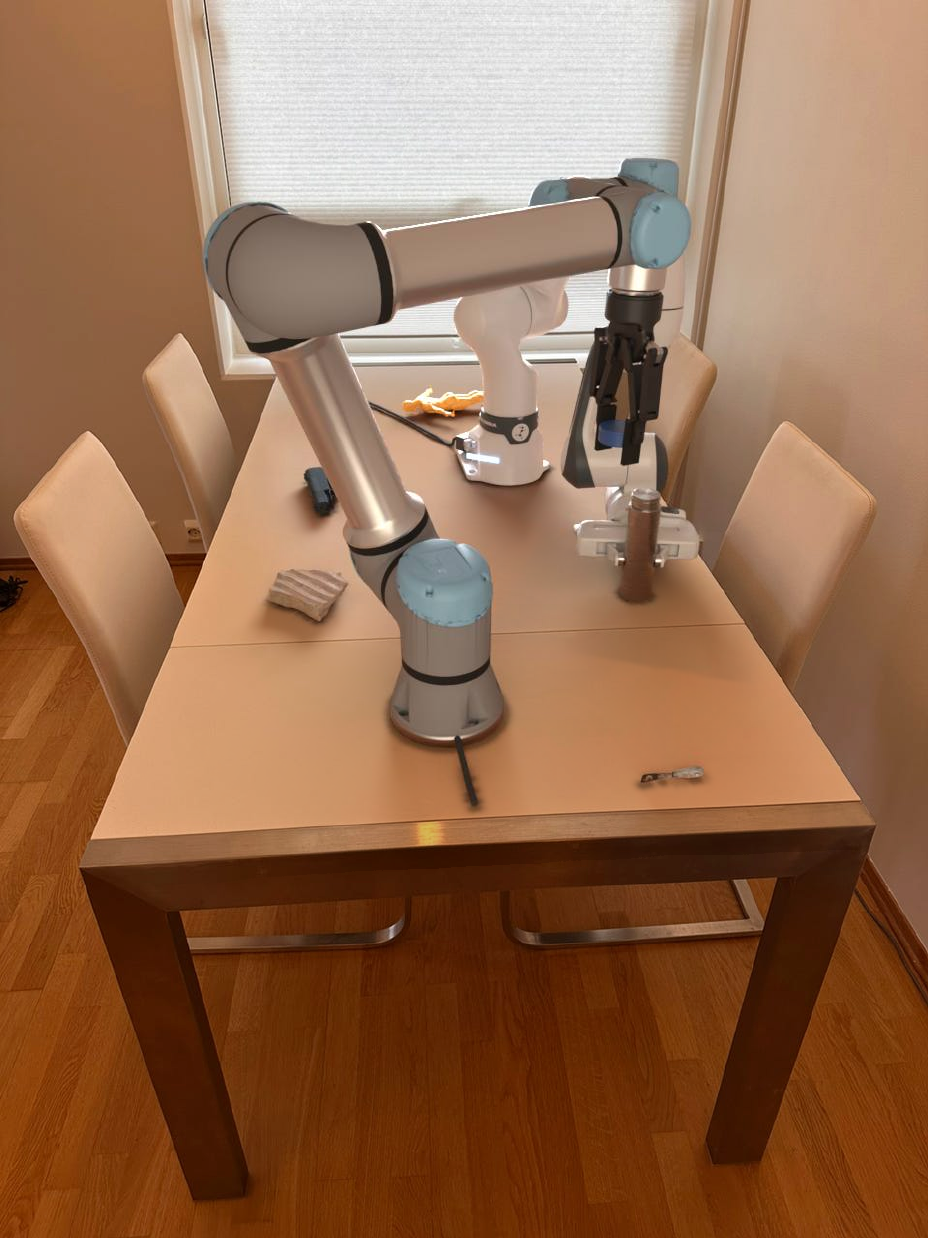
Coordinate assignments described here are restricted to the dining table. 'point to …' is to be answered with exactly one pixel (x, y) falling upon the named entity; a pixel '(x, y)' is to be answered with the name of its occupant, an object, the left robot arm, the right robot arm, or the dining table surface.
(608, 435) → the lid
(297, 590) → the stone
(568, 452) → the right robot arm
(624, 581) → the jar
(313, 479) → the handgun
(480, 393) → the human figure
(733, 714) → the dining table surface
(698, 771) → the putty knife
